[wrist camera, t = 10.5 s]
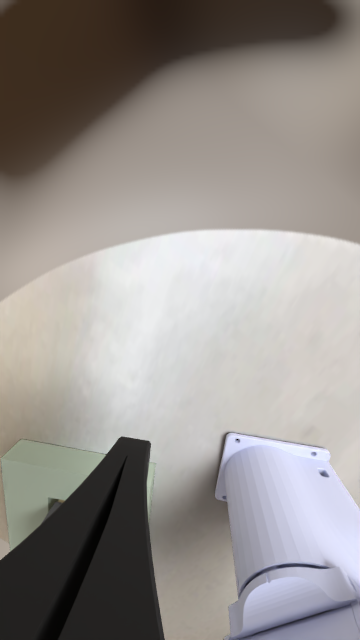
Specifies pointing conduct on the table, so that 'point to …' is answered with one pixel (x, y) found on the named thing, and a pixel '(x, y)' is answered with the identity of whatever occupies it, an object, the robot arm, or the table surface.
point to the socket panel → (45, 482)
